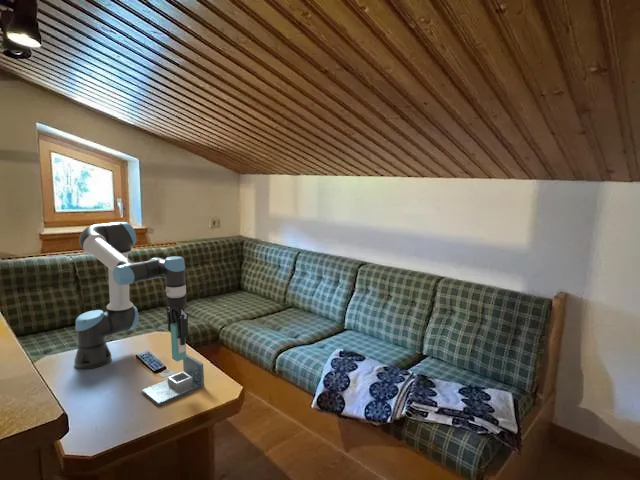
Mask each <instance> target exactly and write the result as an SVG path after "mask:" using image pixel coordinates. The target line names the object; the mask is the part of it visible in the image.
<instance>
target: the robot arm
mask: <svg viewBox="0 0 640 480" xmlns="http://www.w3.org/2000/svg"><path fill="white" fill-rule="evenodd" d="M78 240H79V241H78V242H79V243H78V244H79V246H80V249H82V250H83V252H85V253H86V254H87V255H88V256H89V255H90V256H93V257H95V258H96V259H97V260H98V261H99V262H101V263H102V265H104V266H105V267H107V268H108V289H109V290H108V291H109V293H108V294H109V303H108V304H107V305H106V311H103V310H102V309H95V310H89V311H85V312H84V313H81V314H80V315H78V316H77V317H76V319H75V327H74V329H75V333H76V335H75V336H76V345H77V350H76V353H75V358H74V359H73V360H74V367H75V368H77V369H80V370H89V369H97V368H99V367H102V366H105V365H106V364H108V363H109V362H111V361H112V352H111V350H110V349H109V346H108V344H107V337H110V336H115V335H118V334H120V333H121V334H122V333H125V332H128V331H130V330H133V329H135V328H136V327H137V325H138V323H139V320H140V318H139V317H140V315H139V312H138V310H139V309H138V308H137V307H136V306H135V305H134V303H133V302H131V300H130V285H132V284H134V283H140V282H145V281H150V280H153V279H160V278H161V279H164V280H165V281H164V283H165V289H164V291H165V293H166V298H165V300H166V301H165V302H166V306H167V307H165V310H166V315H167V316H166V318H167V330H168V332H170V333H171V325H170V324H172V323H176V322H177V327H178V335H179V337H177V338H178V353H182V352H184V351H185V342H186V337H188V336H189V320H188V319H189V313H185V308H184V307H185V306H186V305H187V288H186V286H187V285H186V284H187V283H186V265H185V259H184V257H183V256H177V255H176V256H175V255H174V256H167V257H166V258H163V257H152V258H150V259H149V260H147V261H139V262H133V261H132V260H130V258H129V254H130V253H131V252H132V247H133V246H135V245H136V244H137V235H136V231H135V229H134V227H133V226H132V225H131V224H130V222H126V221H116V222H115V221H114V222H107V223H95V224H91V225H88V226H87V227H86V228H84V229H83V230H82V232H81V234H80V235H79V239H78Z"/></svg>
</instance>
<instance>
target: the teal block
mask: <svg viewBox="0 0 640 480" xmlns="http://www.w3.org/2000/svg"><path fill="white" fill-rule="evenodd" d="M170 325H171V332H170V341H171V343H170V344H171V358H172V360H174V361H175V362H180V361H183V359H186V354H187V349H186V348H187V347H186V346H187V345H186V341H185V351H184V352H182V353H178V338H177V337H179V335H178V327H177V322H176V323H172V324H170Z"/></svg>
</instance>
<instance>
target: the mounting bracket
mask: <svg viewBox="0 0 640 480" xmlns="http://www.w3.org/2000/svg"><path fill="white" fill-rule="evenodd" d="M175 374H176V372H175V370H171V371H170V369H164V370H163V371H162V372H160V373H159V375H160V377H161V378H165V377H167V378H168V377H170V376H172V375H175Z"/></svg>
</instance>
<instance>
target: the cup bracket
mask: <svg viewBox="0 0 640 480" xmlns="http://www.w3.org/2000/svg"><path fill="white" fill-rule="evenodd" d="M182 362H183V363H182V365H183V371H181V372H178V373H175V374H174V375H171V376H167V379H166V380H163V381H161V382H159V383H155V384H153V385H150V386H148V387H146V388H143V389H141V394H142V395H144V396H145V397H146V398H147V399H149V400H150V401H151V402H152V403H154V404H155V406H157V407H162V406H165V405H166V404H169V403H171V402H173V401H175V400H176V401H177V399H180V398H182V397H184V396H187V395H189V394H191V393H194V392H196V391H198V390H200V389H203V388H205V376H204V363H203V362H201V361H199V360H197V359H196V358H194V357H193V356H190V355H189V354H187V353H186V359H183V360H182Z"/></svg>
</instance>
